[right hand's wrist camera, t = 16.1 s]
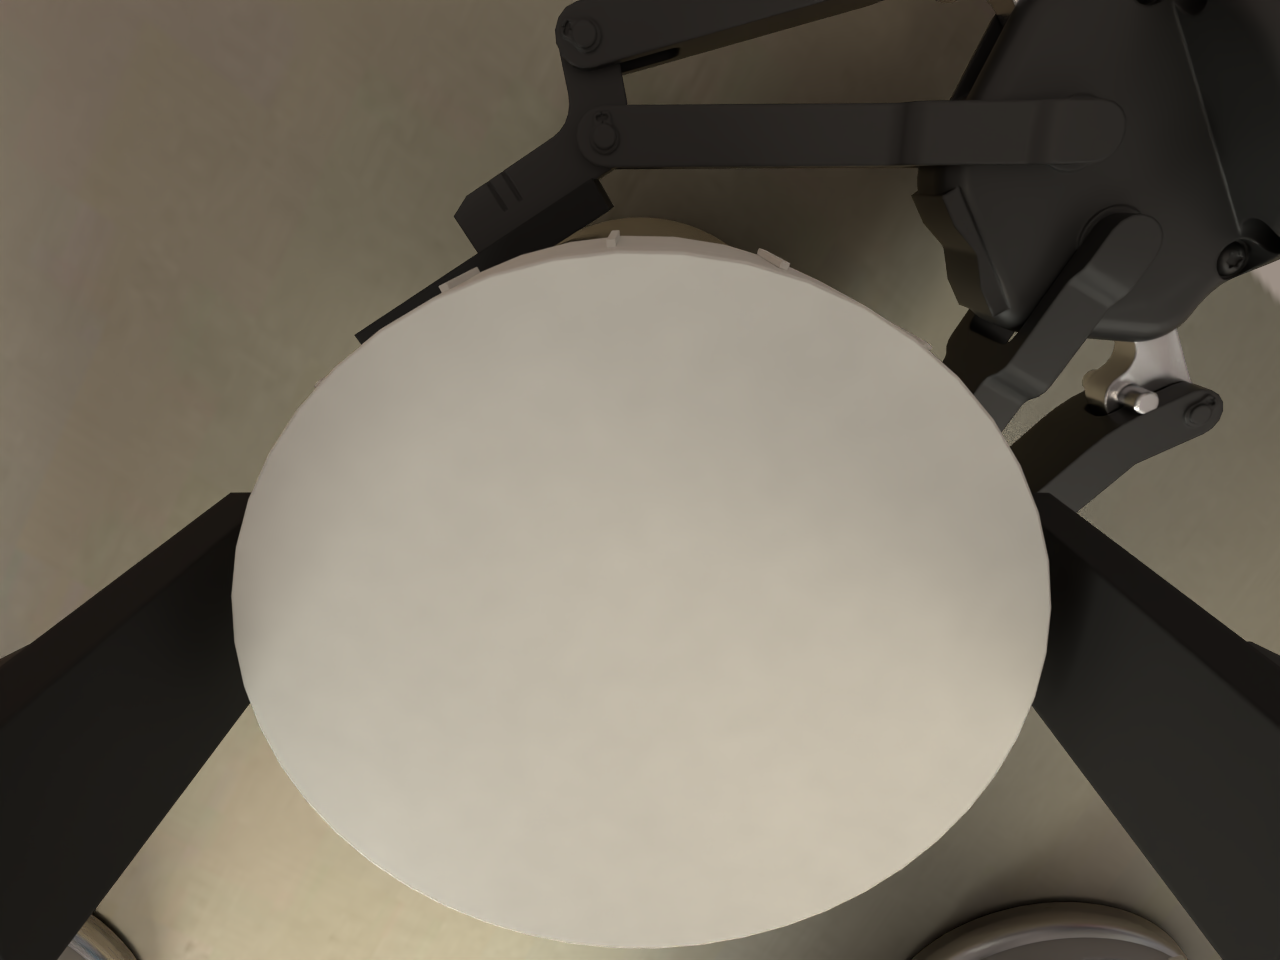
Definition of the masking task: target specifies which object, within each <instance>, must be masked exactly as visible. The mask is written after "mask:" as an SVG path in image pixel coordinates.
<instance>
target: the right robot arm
mask: <svg viewBox="0 0 1280 960" xmlns="http://www.w3.org/2000/svg"><path fill="white" fill-rule="evenodd" d="M1031 494H1032V496H1033V499H1034V502H1035V504H1036V507H1037V509H1038V512H1039V516H1040V521H1041V526H1042V530H1043V535H1044V540H1045V544H1046V549H1047V554H1048V558H1049V572H1050V592H1051V616H1050V625H1049V634H1048V644H1047V653H1046V657H1045V661H1044V665H1043V669H1042V672H1041V676H1040V680H1039V684H1038V688H1037V692H1036V695H1035V698H1034V701H1033V703H1032V706H1033V708H1034V709H1035V710H1036V712H1037V713H1038V714H1039V716H1040V717H1041V718H1042V720H1043V721H1044V722H1045V724H1046V725H1047V726H1048V728H1049V729H1050V730H1051V732H1052V733H1053V734H1054V736H1055V737H1056V738H1057V740H1058V741H1059V742H1060V744H1061V745H1062V746H1063V748H1064V749H1065V750H1066V752H1067V753H1068V754H1069V756H1070V757H1071V758H1072V760H1073V761H1074V762H1075V764H1076V765H1077V766H1078V768H1079V769H1080V770H1081V772H1082V773H1083V774H1084V776H1085V777H1086V778H1087V780H1088V781H1089V782H1090V784H1091V785H1092V786H1093V788H1094V789H1095V790H1096V792H1097V793H1098V794H1099V796H1100V797H1101V798H1102V800H1103V801H1104V802H1105V804H1106V805H1107V806H1108V808H1109V809H1110V810H1111V812H1112V813H1113V814H1114V816H1115V817H1116V818H1117V820H1118V821H1119V822H1120V824H1121V825H1122V826H1123V828H1124V829H1125V830H1126V832H1127V833H1128V834H1129V836H1130V837H1131V838H1132V840H1133V841H1134V842H1135V844H1136V845H1137V846H1138V848H1139V849H1140V850H1141V852H1142V853H1143V854H1144V856H1145V857H1146V858H1147V860H1148V861H1149V862H1150V864H1151V865H1152V866H1153V868H1154V869H1155V870H1156V872H1157V873H1158V874H1159V876H1160V877H1161V878H1162V880H1163V881H1164V882H1165V884H1166V885H1167V886H1168V888H1169V889H1170V890H1171V892H1172V893H1173V894H1174V896H1175V897H1176V898H1177V900H1178V901H1179V902H1180V904H1181V905H1182V906H1183V908H1184V909H1185V910H1186V912H1187V913H1188V914H1189V916H1190V917H1191V918H1192V920H1193V921H1194V922H1195V924H1196V925H1197V926H1198V928H1199V929H1200V930H1201V931H1202V933H1203V934H1204V935H1205V937H1206V938H1207V939H1208V941H1209V942H1210V943H1211V945H1212V946H1213V947H1214V949H1215V950H1216V951H1217V953H1218V954H1219V955H1220V957H1221V958H1222V959H1223V960H1280V656H1279V655H1277V654H1275V653H1273V652H1271V651H1269V650H1267V649H1265V648H1263V647H1261V646H1259V645H1257V644H1255V643H1253V642H1246V641H1245V640H1244V639H1242V638H1241V637H1240V636H1238V635H1237V634H1236V633H1234V632H1233V631H1232V630H1231V629H1229V628H1228V627H1227V626H1225V625H1224V624H1223V623H1221V622H1220V621H1219V620H1217V619H1216V618H1215V617H1213V616H1212V615H1211V614H1209V613H1208V612H1207V611H1205V610H1204V609H1203V608H1201V607H1200V606H1199V605H1197V604H1196V603H1195V602H1193V601H1192V600H1191V599H1189V598H1188V597H1187V596H1185V595H1184V594H1183V593H1182V592H1180V591H1179V590H1178V589H1176V588H1175V587H1174V586H1172V585H1171V584H1170V583H1168V582H1167V581H1166V580H1164V579H1163V578H1162V577H1160V576H1159V575H1158V574H1156V573H1155V572H1154V571H1152V570H1151V569H1150V568H1148V567H1147V566H1146V565H1144V564H1143V563H1142V562H1140V561H1139V560H1138V559H1137V558H1135V557H1134V556H1133V555H1131V554H1130V553H1129V552H1127V551H1126V550H1125V549H1123V548H1122V547H1121V546H1119V545H1118V544H1117V543H1115V542H1114V541H1113V540H1111V539H1110V538H1109V537H1107V536H1106V535H1105V534H1103V533H1102V532H1101V531H1099V530H1098V529H1097V528H1095V527H1094V526H1093V525H1091V524H1090V523H1089V522H1088V521H1086V520H1085V519H1084V518H1082V517H1081V516H1080V515H1078V514H1077V513H1076V512H1074V511H1073V510H1072V509H1070V508H1069V507H1068V506H1066V505H1065V504H1064V503H1062V502H1061V501H1060V500H1058V499H1057V498H1056V497H1054V496H1053V495H1052V494H1050V493H1031ZM250 495H251V493H230V494H228V495H227V496H226V497H224V498H223V499H222V500H220V501H219V502H218V503H216V504H215V505H214V506H212V507H211V508H210V509H208V510H207V511H206V512H204V513H203V514H202V515H200V516H199V517H198V518H196V519H195V520H194V521H192V522H191V523H190V524H189V525H187V526H186V527H185V528H183V529H182V530H181V531H179V532H178V533H177V534H175V535H174V536H173V537H171V538H170V539H169V540H167V541H166V542H165V543H163V544H162V545H161V546H159V547H158V548H157V549H155V550H154V551H153V552H151V553H150V554H149V555H147V556H146V557H145V558H143V559H142V560H141V561H140V562H138V563H137V564H136V565H134V566H133V567H132V568H130V569H129V570H128V571H126V572H125V573H124V574H122V575H121V576H120V577H118V578H117V579H116V580H114V581H113V582H112V583H110V584H109V585H108V586H106V587H105V588H104V589H102V590H101V591H100V592H98V593H97V594H96V595H95V596H93V597H92V598H91V599H89V600H88V601H87V602H85V603H84V604H83V605H81V606H80V607H79V608H77V609H76V610H75V611H73V612H72V613H71V614H69V615H68V616H67V617H65V618H64V619H63V620H61V621H60V622H59V623H57V624H56V625H55V626H53V627H52V628H51V629H49V630H48V631H47V632H46V633H44V634H43V635H42V636H40V637H39V638H38V639H36V640H35V641H34V642H32V643H31V644H29V645H27V646H25V647H23V648H21V649H19V650H17V651H15V652H13V653H11V654H9V655H7V656H5V657H3V658H1V659H0V960H136V958H135V957H134V955H133V954H132V952H131V951H130V950H129V949H128V947H127V946H126V945H125V944H124V943H123V942H122V940H121V939H120V938H119V937H118V936H117V935H116V934H115V933H114V932H113V931H111V930H110V929H109V928H108V927H107V926H106V925H105V924H103V923H102V922H101V921H100V920H98V919H97V918H96V917H94V916H93V915H92V913H93V912H94V910H95V909H96V908H97V906H98V905H99V904H100V902H101V901H102V900H103V898H104V897H105V896H106V894H107V893H108V892H109V890H110V889H111V888H112V886H113V885H114V884H115V882H116V881H117V880H118V878H119V877H120V876H121V874H122V873H123V872H124V870H125V869H126V868H127V866H128V865H129V864H130V862H131V861H132V860H133V858H134V857H135V856H136V854H137V853H138V852H139V850H140V849H141V848H142V846H143V845H144V844H145V842H146V841H147V840H148V838H149V837H150V836H151V834H152V833H153V832H154V830H155V829H156V828H157V826H158V825H159V824H160V822H161V821H162V820H163V818H164V817H165V816H166V814H167V813H168V812H169V810H170V809H171V808H172V806H173V805H174V804H175V802H176V801H177V800H178V798H179V797H180V796H181V794H182V793H183V792H184V790H185V789H186V788H187V786H188V785H189V784H190V782H191V781H192V780H193V778H194V777H195V776H196V774H197V773H198V772H199V770H200V769H201V768H202V766H203V765H204V764H205V762H206V761H207V760H208V758H209V757H210V756H211V754H212V753H213V752H214V750H215V749H216V748H217V746H218V745H219V744H220V742H221V741H222V740H223V738H224V737H225V736H226V734H227V733H228V732H229V730H230V729H231V728H232V726H233V725H234V724H235V722H236V721H237V720H238V718H239V717H240V716H241V714H242V713H243V712H244V710H245V709H246V708H247V706H248V705H249V704H250V700H249V698H248V695H247V692H246V690H245V687H244V684H243V679H242V675H241V670H240V665H239V661H238V656H237V652H236V647H235V643H234V629H233V613H232V598H231V594H232V584H233V573H234V562H235V552H236V545H237V541H238V537H239V534H240V530H241V526H242V522H243V518H244V514H245V510H246V507H247V503H248V499H249V497H250Z"/></svg>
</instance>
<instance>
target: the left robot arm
mask: <svg viewBox="0 0 1280 960" xmlns="http://www.w3.org/2000/svg"><path fill="white" fill-rule="evenodd" d="M880 1H883V0H579V1H576V2H574V3H572V4H571V5H569V6H567V7H566V8H565V9H564V11H563V12H562V13H561V15H560V16H559V18H558V21H557V25H556V28H555V34H556V44H557V46H558V48H559V51H560V56H561V61H562V66H563V71H564V75H565V80H566V85H567V90H568V95H569V111H568V116H567V119H566V121H565V124H564V125H563V127H562V128H561V130H560V131H559V132H558V133H557V134H556V135H555V136H554V137H552V138H551V139H550V140H548V141H547V142H545V143H544V144H542V145H541V146H539V147H538V148H536V149H535V150H533V151H532V152H530V153H529V154H528V155H526V156H525V157H523V158H522V159H520V160H519V161H517V162H516V163H514V164H513V165H511V166H510V167H509V168H507V169H506V170H504V171H503V172H501V173H500V174H498V175H497V176H495V177H494V178H492V179H491V180H490V181H488V182H487V183H485V184H484V185H482V186H481V187H479V188H478V189H476V190H475V191H473V192H472V193H470V194H469V195H467V196H466V198H465V199H464V201H463V203H462V204H461V206H460V207H459V209H458V211H457V212H456V214H455V215H454V218H455V219H456V221H457V222H458V224H459V225H460V227H461V228H462V230H463V231H464V233H465V234H466V236H467V237H468V239H469V240H470V242H471V243H472V245H473V246H474V248H475V249H476V251H477V253H478V254H476V255H475V256H473V257H472V258H470V259H469V260H467V261H466V262H464V263H463V264H461V265H460V266H458V267H457V268H455V269H453V270H452V271H450V272H449V273H447V274H446V275H444V276H443V277H441V278H440V279H438V280H437V281H435V282H434V283H432V284H431V285H429V286H428V287H426V288H425V289H423V290H422V291H420V292H419V293H417V294H416V295H414V296H413V297H411V298H410V299H408V300H407V301H405V302H404V303H402V304H401V305H399V306H398V307H396V308H395V309H393V310H392V311H390V312H388V313H387V314H385V315H384V316H382V317H381V318H379V319H378V320H376V321H375V322H373V323H372V324H370V325H369V326H367V327H366V328H364V329H363V330H361V331H360V332H358V333H357V334H355V337H356V338H357V339H358V341H359V342H360V343H361V345H362V344H363V343H364V342H365V341H367V340H368V339H369V338H370V337H371V336H373V335H374V334H375V333H376V332H378V331H379V330H380V329H382V328H383V327H385V326H387V325H388V324H390V323H392V322H393V321H395V320H397V319H398V318H400V317H402V316H403V315H405V314H407V313H408V312H410V311H412V310H413V309H415V308H417V307H418V306H420V305H422V304H423V303H425V302H427V301H428V300H430V299H432V298H433V297H435V296H437V295H439V294H441V293H442V292H441V290H440V288H439V286H440V285H442V284H444V283H446V282H448V281H450V280H452V279H454V278H456V277H458V276H460V275H461V274H463V273H465V272H467V271H469V270H471V269H473V268H475V267H478V269H479V271H480V272H482V271H485V270H487V269H489V268H492V267H494V266H496V265H499V264H501V263H504V262H506V261H508V260H511V259H513V258H515V257H518V256H520V255H523V254H527V253H531V252H535V251H538V250H542V249H546V248H550V247H554V246H555V245H557V244H558V243H560V242H561V241H563V240H565V239H566V238H568V237H569V236H571V235H572V234H574V233H575V232H577V231H578V230H580V229H582V228H583V227H585V226H586V225H588V224H589V223H591V222H592V221H594V220H595V219H597V218H599V217H600V216H602V215H603V214H605V213H606V212H608V211H609V210H611V209H612V208H613V207H614V206H613V204H612V202H611V201H610V199H609V197H608V195H607V194H606V192H605V190H604V188H603V187H602V185H601V183H600V182H599V179H600V178H602V177H604V176H605V175H607V174H608V173H610V172H611V171H613V170H614V169H731V168H918V176H917V187H918V191H917V192H915V193H914V194H912V195H911V196H912V198H913V201H914V203H915V205H916V207H917V210H918V212H919V214H920V216H921V219H922V221H923V223H924V224H925V225H926V227H927V228H928V229H929V230H930V231H931V233H932V234H933V235H934V236H935V237H936V238H937V240H938V241H939V242H940V243H941V244H942V246H943V248H944V254H945V262H946V269H947V277H948V280H949V283H950V285H951V287H952V290H953V292H954V294H955V296H956V299H957V301H958V303H959V305H962V306H965V307H967V308H970V309H969V310H968V312H967V313H966V314H965V316H964V317H963V319H962V320H961V322H960V323H959V325H958V326H957V328H956V329H955V330H954V332H953V333H952V335H951V337H950V339H949V340H948V343H947V348H946V356H945V359H944V360H943V362H942V363H943V364H945V365H946V366H947V367H948V368H949V369H950V370H951V371H952V372H954V373H955V374H956V375H957V376H958V377H959V378H960V379H961V381H962V382H963V383H964V384H965V385H966V387H967V388H968V389H969V390H970V391H971V393H972V394H973V395H974V396H975V398H976V399H977V400H978V401H979V402H980V404H981V405H982V406H983V407H984V408H985V410H986V411H987V412H988V413H989V415H990V416H991V417H992V418H993V419H994V421H995V423H996V425H997V426H998V428H999V430H1000V431H1001V432H1002V431H1003V430H1004V428H1005V427H1006V426H1007V424H1008V423H1009V422H1010V420H1011V419H1012V418H1013V416H1014V415H1015V414H1016V412H1017V411H1018V410H1019V408H1020V407H1021V406H1022V405H1023V404H1024V403H1025V402H1026V401H1028V400H1030V399H1033V398H1036V397H1039V396H1040V395H1042V394H1043V393H1044V392H1046V391H1047V389H1048V388H1049V387H1050V386H1051V385H1052V384H1053V382H1054V381H1055V380H1056V378H1057V377H1058V376H1059V374H1060V373H1061V372H1062V371H1063V369H1064V368H1065V367H1066V365H1067V364H1068V363H1069V361H1070V360H1071V359H1072V357H1073V356H1074V355H1075V353H1076V352H1077V351H1078V349H1079V348H1080V347H1081V345H1082V344H1083V343H1084V341H1085V340H1086V339H1087V338H1090V339H1101V340H1113V341H1114V342H1115V345H1114V350H1113V353H1112V355H1111V357H1110V358H1109V360H1108V361H1107V362H1106V363H1105V364H1104V365H1103V366H1102V367H1100V368H1099V369H1095V370H1091V371H1089V372H1087V373H1086V374H1085V375H1084V377H1083V379H1082V386H1083V387H1084V388H1085V391H1083V392H1081V393H1079V394H1077V395H1075V396H1073V397H1071V398H1070V399H1068V400H1067V401H1065V402H1064V403H1062V404H1061V405H1059V406H1058V407H1056V408H1055V409H1054V410H1052V411H1051V412H1050V413H1049V414H1047V415H1046V416H1045V417H1044V418H1042V419H1041V420H1040V421H1039V422H1038V423H1037V424H1035V425H1034V426H1033V427H1032V428H1031V429H1030V430H1029V431H1027V432H1026V433H1025V434H1024V435H1023V436H1022V437H1021V438H1019V439H1018V440H1017V441H1016V442H1015V443H1014V444H1013V445H1011V446H1010V448H1011V450H1012V452H1013V453H1014V455H1015V457H1016V459H1017V460H1018V462H1019V464H1020V466H1021V468H1022V471H1023V473H1024V476H1025V478H1026V481H1027V484H1028V486H1029V489H1030V491H1031V493H1050V494H1052V495H1053V496H1054V497H1056V498H1057V499H1058V500H1060V501H1061V502H1062V503H1064V504H1065V505H1066V506H1068V507H1069V508H1070V509H1072V510H1073V511H1074V512H1078V511H1079V510H1080V509H1081V508H1082V507H1084V506H1085V505H1086V504H1087V503H1089V502H1090V501H1091V500H1092V499H1093V498H1095V497H1096V496H1097V495H1098V494H1099V493H1101V492H1102V491H1103V490H1104V489H1106V488H1107V487H1108V486H1109V485H1110V484H1112V483H1113V482H1114V481H1115V480H1117V479H1118V478H1119V477H1120V476H1121V475H1123V474H1124V473H1125V472H1126V471H1127V470H1129V469H1130V468H1131V467H1132V466H1134V465H1135V464H1137V463H1139V462H1141V461H1143V460H1146V459H1148V458H1150V457H1152V456H1155V455H1157V454H1159V453H1161V452H1164V451H1166V450H1168V449H1170V448H1173V447H1175V446H1177V445H1179V444H1182V443H1184V442H1186V441H1188V440H1191V439H1193V438H1195V437H1197V436H1200V435H1202V434H1204V433H1205V432H1207V431H1209V430H1210V429H1212V428H1213V427H1214V426H1215V424H1216V423H1217V422H1218V421H1219V419H1220V417H1221V414H1222V412H1223V401H1222V400H1221V398H1220V396H1219V394H1217V393H1215V392H1214V391H1212V390H1210V389H1207V388H1204V387H1201V386H1198V385H1196V384H1193V383H1192V382H1191V380H1190V376H1189V372H1188V369H1187V365H1186V361H1185V358H1184V354H1183V350H1182V346H1181V343H1180V339H1179V335H1178V331H1177V328H1178V327H1179V326H1180V325H1181V324H1182V323H1183V322H1185V321H1186V320H1187V318H1188V317H1189V316H1190V315H1191V314H1192V312H1193V311H1194V310H1195V309H1196V307H1197V306H1198V305H1199V304H1200V303H1201V302H1202V301H1203V300H1204V299H1205V298H1206V297H1207V296H1208V295H1209V294H1210V293H1211V292H1212V291H1213V290H1215V289H1216V288H1217V287H1218V286H1220V285H1221V284H1223V283H1224V282H1226V281H1228V280H1230V279H1232V278H1235V277H1237V276H1239V275H1242V274H1244V273H1247V272H1249V271H1252V270H1254V269H1257V268H1259V267H1262V266H1264V265H1267V264H1269V263H1272V262H1274V261H1277V260H1279V259H1280V0H986V1H987V2H988V3H990V4H991V6H992V7H993V9H994V11H995V13H996V14H995V16H994V17H993V18H992V20H991V22H990V23H989V25H988V27H987V29H986V31H985V33H984V35H983V37H982V39H981V41H980V43H979V45H978V47H977V49H976V50H975V52H974V54H973V56H972V58H971V60H970V62H969V64H968V66H967V68H966V70H965V72H964V74H963V76H962V78H961V80H960V81H959V83H958V85H957V87H956V89H955V91H954V93H953V95H952V97H951V99H950V100H937V101H914V102H904V103H846V104H690V105H627V99H626V94H625V88H624V83H623V77H622V75H626V74H629V73H633V72H636V71H640V70H643V69H647V68H650V67H654V66H657V65H661V64H664V63H668V62H671V61H675V60H679V59H682V58H686V57H689V56H693V55H696V54H700V53H703V52H707V51H710V50H714V49H717V48H721V47H724V46H728V45H731V44H735V43H738V42H742V41H746V40H749V39H753V38H756V37H760V36H763V35H767V34H770V33H774V32H777V31H781V30H784V29H788V28H791V27H795V26H798V25H802V24H805V23H809V22H813V21H816V20H820V19H823V18H827V17H830V16H834V15H837V14H841V13H844V12H848V11H851V10H855V9H858V8H862V7H865V6H869V5H872V4H874V3H877V2H880ZM936 1H938V2H941V3H953V2H956V1H959V0H936ZM1014 332H1018V333H1017V334H1016V336H1015V337H1014V338H1013V339H1012V340H1011V341H1009V339H1010V337H1011V336H1012V335H1013V333H1014ZM1008 341H1009V342H1008ZM1007 342H1008V343H1007ZM912 960H1188V959H1187V957H1186V956H1185V954H1184V953H1183V952H1182V950H1181V949H1180V947H1179V946H1178V945H1177V944H1176V942H1175V941H1174V940H1173V939H1172V938H1171V937H1170V936H1169V935H1168V934H1167V933H1166V932H1165V931H1163V930H1162V929H1161V928H1159V927H1158V926H1156V925H1155V924H1153V923H1151V922H1150V921H1148V920H1146V919H1144V918H1142V917H1140V916H1138V915H1135V914H1133V913H1130V912H1127V911H1124V910H1121V909H1118V908H1113V907H1109V906H1104V905H1098V904H1091V903H1079V902H1053V903H1040V904H1033V905H1026V906H1020V907H1015V908H1011V909H1007V910H1003V911H999V912H996V913H992V914H989V915H986V916H983V917H981V918H978V919H975V920H973V921H971V922H968V923H966V924H964V925H962V926H960V927H958V928H955V929H954V930H952V931H950V932H948V933H946V934H945V935H943V936H941V937H940V938H938V939H937V940H935V941H934V942H932V943H931V944H930V945H928V946H927V947H925V948H924V949H923V950H922V951H921V952H919V953H918V954H917V955H916V956H915V957H914V958H913V959H912Z"/></svg>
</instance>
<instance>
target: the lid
mask: <svg viewBox="0 0 1280 960" xmlns="http://www.w3.org/2000/svg"><path fill="white" fill-rule="evenodd" d="M789 266H790V263H789V262H787V261H785V260H783V259H781V258H779V257H778V256H776V255H774V254H772V253H770V252H768V251H766V250H764V249H761V248H759V249H758V252H757V254H754V253H751V252H747V251H744V250H741V249H737V248H734V247H731V246H728V245H723V244H717V243H711V242H704V241H698V240H692V239H685V238H679V237H661V236H620V231H619V230H613V231H611V233H610V235H609V236H608V238H600V239H591V240H583V241H575V242H569V243H565V244H561V245H557V246H554V247H550V248H546V249H542V250H538V251H535V252H531V253H527V254H523V255H520V256H518V257H515V258H513V259H511V260H508V261H506V262H504V263H501V264H499V265H496V266H494V267H492V268H489V269H487V270H485V271H482V272H480V271H479V269H478V267H475V268H473V269H471V270H469V271H467V272H465V273H463V274H461V275H460V276H458V277H456V278H454V279H452V280H450V281H448V282H446V283H444V284H442V285H440V286H439V288H440V290H441V292H442V293H441V294H439V295H437V296H435V297H433V298H432V299H430V300H428V301H427V302H425V303H423V304H422V305H420V306H418V307H417V308H415V309H413V310H412V311H410V312H408V313H407V314H405V315H403V316H402V317H400V318H398V319H397V320H395V321H393V322H392V323H390V324H388V325H387V326H385V327H383V328H382V329H380V330H379V331H378V332H376V333H375V334H374V335H373V336H371V337H370V338H369V339H368V340H367V341H365V342H364V343H363V344H362V345H361V346H359V347H358V348H357V349H356V350H354V351H353V352H352V353H351V354H350V355H348V356H347V357H346V358H345V359H344V360H342V361H341V362H340V363H339V364H337V365H336V366H335V367H334V368H333V369H332V370H331V372H330V373H329V374H328V375H327V376H325V377H324V378H322V379H320V380H319V381H318V382H317V383H316V384H315V387H316V388H315V389H314V391H313V392H312V393H311V394H310V395H309V396H308V397H307V398H306V399H305V401H304V402H303V403H302V404H301V405H300V406H299V407H298V409H297V410H296V412H295V413H294V415H293V416H292V418H291V419H290V421H289V422H288V424H287V426H286V427H285V429H284V430H283V432H282V433H281V435H280V436H279V438H278V440H277V441H276V443H275V444H274V446H273V447H272V449H271V450H270V452H269V454H268V456H267V458H266V461H265V463H264V465H263V467H262V470H261V472H260V474H259V476H258V479H257V481H256V483H255V486H254V488H253V490H252V492H251V495H250V497H249V499H248V503H247V507H246V510H245V514H244V518H243V522H242V526H241V530H240V534H239V537H238V541H237V545H236V552H235V562H234V573H233V584H232V594H231V598H232V613H233V629H234V643H235V647H236V652H237V656H238V661H239V665H240V670H241V675H242V679H243V684H244V687H245V690H246V692H247V695H248V698H249V700H250V703H251V706H252V708H253V711H254V714H255V716H256V719H257V722H258V724H259V727H260V729H261V731H262V732H263V734H264V736H265V738H266V740H267V742H268V743H269V745H270V747H271V749H272V751H273V753H274V754H275V756H276V758H277V760H278V762H279V764H280V765H281V767H282V768H283V770H284V771H285V772H286V774H287V775H288V777H289V778H290V779H291V781H292V782H293V783H294V785H295V786H296V787H297V789H298V790H299V792H300V793H301V794H302V796H303V797H304V798H305V800H306V801H307V802H308V803H309V804H310V805H311V807H312V808H313V809H314V810H315V811H316V812H317V813H318V814H319V815H320V816H321V817H322V818H323V819H324V820H325V821H326V822H327V824H328V825H329V826H330V827H331V828H332V829H333V830H334V831H335V832H336V833H337V834H338V835H339V836H340V837H342V838H343V839H344V840H345V841H346V842H348V843H349V844H350V845H351V846H352V847H354V848H355V849H356V850H357V851H358V852H359V853H361V854H362V855H363V856H364V857H365V858H367V859H368V860H369V861H370V862H372V863H373V864H375V865H376V866H378V867H379V868H381V869H382V870H384V871H385V872H387V873H388V874H390V875H391V876H393V877H394V878H396V879H397V880H399V881H400V882H402V883H403V884H405V885H406V886H408V887H410V888H412V889H414V890H415V891H417V892H419V893H421V894H423V895H425V896H427V897H429V898H431V899H433V900H434V901H436V902H438V903H440V904H442V905H444V906H446V907H449V908H451V909H453V910H456V911H458V912H461V913H463V914H466V915H468V916H471V917H473V918H476V919H478V920H481V921H483V922H486V923H489V924H492V925H496V926H499V927H502V928H506V929H509V930H513V931H516V932H519V933H523V934H526V935H531V936H536V937H541V938H546V939H551V940H556V941H561V942H566V943H572V944H582V945H591V946H601V947H611V948H668V947H680V946H693V945H703V944H709V943H715V942H720V941H726V940H732V939H738V938H744V937H747V936H751V935H755V934H759V933H762V932H766V931H770V930H773V929H777V928H781V927H784V926H788V925H790V924H793V923H796V922H798V921H801V920H804V919H806V918H809V917H812V916H814V915H817V914H820V913H822V912H825V911H827V910H829V909H831V908H833V907H836V906H838V905H840V904H842V903H844V902H846V901H848V900H850V899H852V898H854V897H856V896H858V895H860V894H862V893H864V892H866V891H868V890H869V889H871V888H872V887H874V886H875V885H877V884H879V883H880V882H882V881H883V880H885V879H887V878H888V877H890V876H891V875H893V874H895V873H896V872H898V871H899V870H901V869H903V868H904V867H905V866H906V865H908V864H909V863H910V862H911V861H913V860H914V859H915V858H917V857H918V856H919V855H920V854H922V853H923V852H924V851H925V850H927V849H928V848H929V847H930V846H932V845H933V844H934V843H935V842H937V841H938V840H939V839H940V838H941V837H942V836H943V835H944V834H945V833H946V832H947V831H948V830H949V829H950V828H951V827H952V826H953V825H954V824H955V823H956V822H957V821H958V820H959V819H960V818H961V817H962V816H963V815H964V814H965V813H966V812H967V811H968V810H969V809H970V807H971V806H972V805H973V803H974V802H975V801H976V800H977V798H978V797H979V796H980V795H981V793H982V792H983V791H984V789H985V788H986V787H987V786H988V784H989V783H990V782H991V781H992V779H993V778H994V777H995V775H996V774H997V772H998V770H999V769H1000V767H1001V765H1002V764H1003V762H1004V760H1005V759H1006V757H1007V755H1008V753H1009V752H1010V750H1011V748H1012V747H1013V745H1014V743H1015V742H1016V740H1017V738H1018V736H1019V734H1020V731H1021V729H1022V727H1023V724H1024V722H1025V720H1026V717H1027V715H1028V713H1029V710H1030V708H1031V705H1032V703H1033V701H1034V698H1035V695H1036V692H1037V688H1038V684H1039V680H1040V676H1041V672H1042V669H1043V665H1044V661H1045V657H1046V653H1047V644H1048V634H1049V625H1050V616H1051V592H1050V572H1049V558H1048V554H1047V549H1046V544H1045V540H1044V535H1043V530H1042V526H1041V521H1040V516H1039V512H1038V509H1037V507H1036V504H1035V502H1034V499H1033V496H1032V494H1031V491H1030V489H1029V486H1028V484H1027V481H1026V478H1025V476H1024V473H1023V471H1022V468H1021V466H1020V464H1019V462H1018V460H1017V459H1016V457H1015V455H1014V453H1013V452H1012V450H1011V448H1010V447H1009V445H1008V443H1007V442H1006V440H1005V438H1004V436H1003V435H1002V433H1001V431H1000V430H999V428H998V426H997V425H996V423H995V421H994V419H993V418H992V417H991V416H990V415H989V413H988V412H987V411H986V410H985V408H984V407H983V406H982V405H981V404H980V402H979V401H978V400H977V399H976V398H975V396H974V395H973V394H972V393H971V391H970V390H969V389H968V388H967V387H966V385H965V384H964V383H963V382H962V381H961V379H960V378H959V377H958V376H957V375H956V374H955V373H954V372H952V371H951V370H950V369H949V368H948V367H947V366H946V365H945V364H943V363H942V362H941V361H940V360H939V359H938V358H937V357H936V356H934V355H933V354H932V353H931V352H930V349H931V348H932V346H931V345H930V344H928V343H927V342H926V341H924V340H922V339H920V338H918V337H917V336H915V335H913V334H911V333H909V332H908V331H906V330H904V329H902V328H900V327H899V326H897V325H895V324H893V323H891V322H890V321H888V320H886V319H885V318H883V317H882V316H880V315H879V314H877V313H876V312H874V311H873V310H871V309H870V308H868V307H866V306H865V305H863V304H861V303H859V302H857V301H856V300H854V299H852V298H850V297H848V296H846V295H845V294H843V293H841V292H839V291H837V290H835V289H834V288H832V287H830V286H828V285H826V284H824V283H823V282H821V281H819V280H817V279H815V278H812V277H810V276H808V275H806V274H804V273H802V272H799V271H797V270H795V269H793V268H791V267H789Z"/></svg>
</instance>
